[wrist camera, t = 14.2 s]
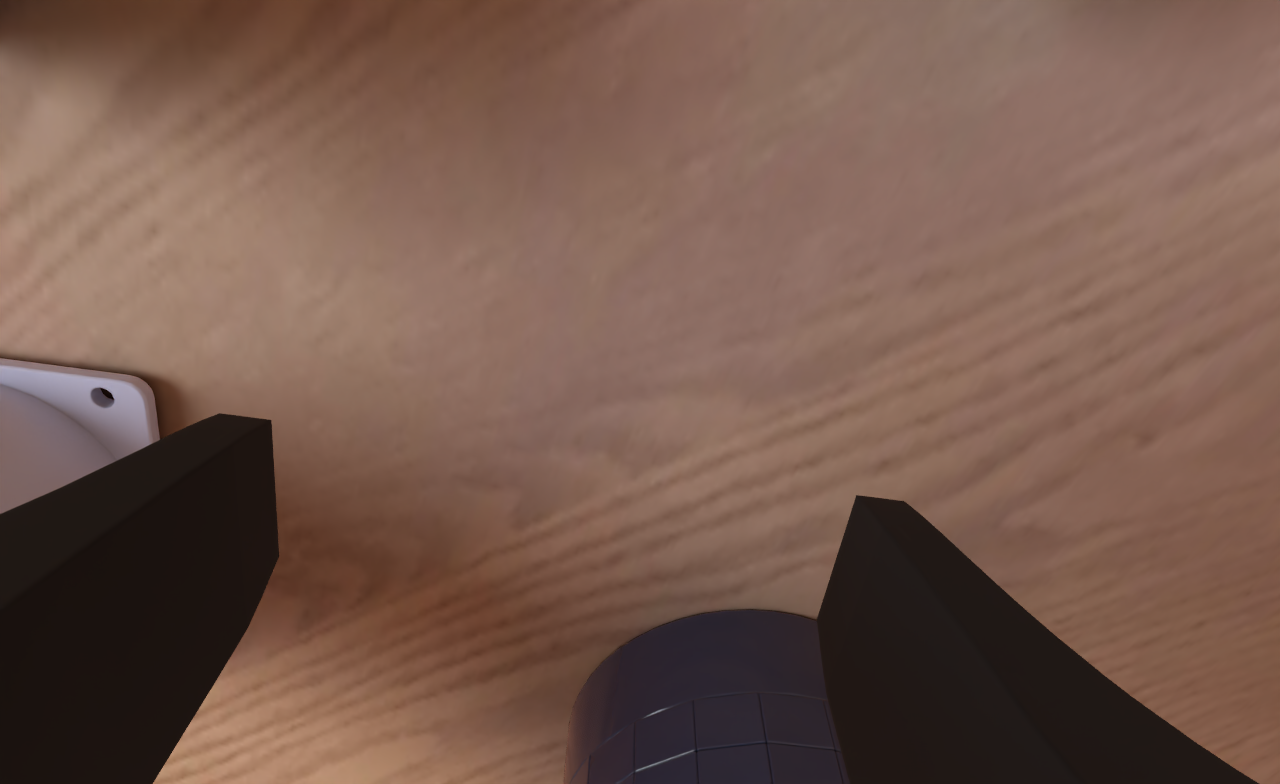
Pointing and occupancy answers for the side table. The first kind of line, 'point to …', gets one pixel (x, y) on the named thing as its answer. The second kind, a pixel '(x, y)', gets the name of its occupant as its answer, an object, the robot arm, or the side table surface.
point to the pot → (709, 706)
